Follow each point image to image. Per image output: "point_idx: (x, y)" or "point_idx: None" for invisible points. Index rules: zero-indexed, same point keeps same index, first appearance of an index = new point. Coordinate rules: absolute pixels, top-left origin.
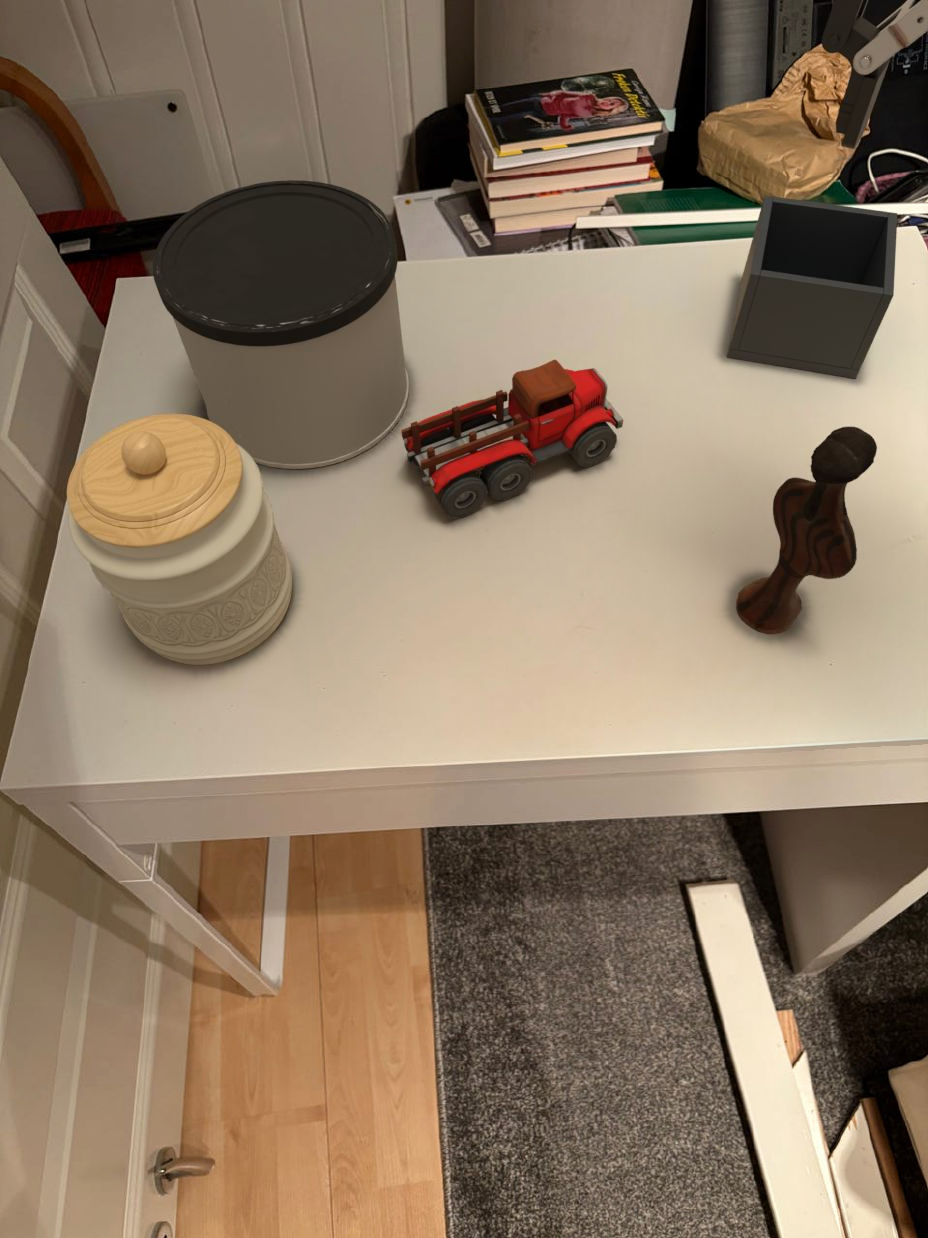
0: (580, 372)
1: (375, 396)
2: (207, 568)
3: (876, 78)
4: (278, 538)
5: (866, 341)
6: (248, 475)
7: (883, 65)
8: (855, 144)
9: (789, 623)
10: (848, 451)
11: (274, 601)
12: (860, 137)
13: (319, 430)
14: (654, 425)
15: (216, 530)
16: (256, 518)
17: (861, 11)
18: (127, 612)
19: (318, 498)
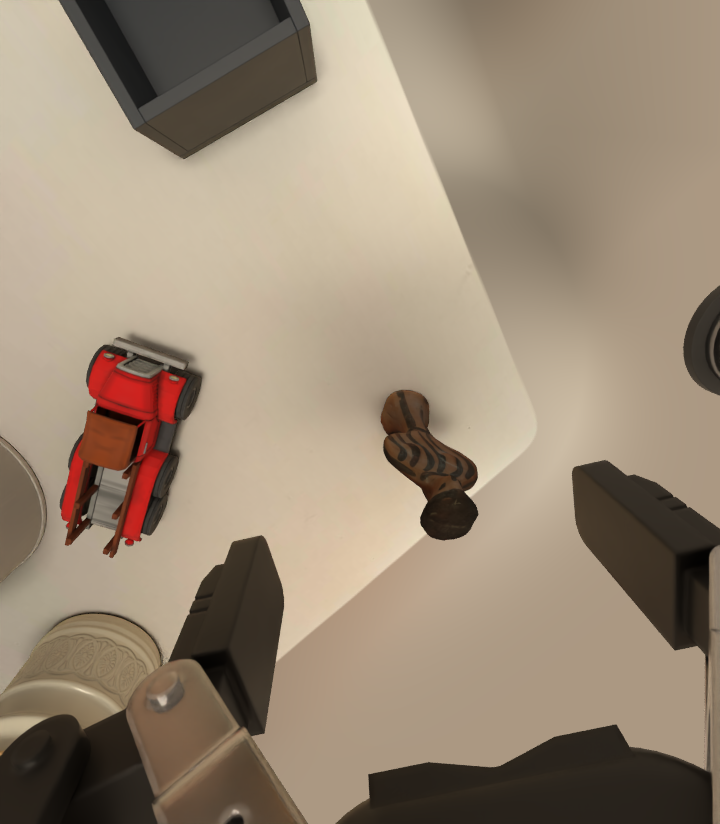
0: (114, 382)
1: (5, 520)
2: None
3: (257, 727)
4: (103, 663)
5: (308, 63)
6: None
7: (233, 677)
8: (282, 599)
9: (428, 422)
10: (454, 527)
11: (144, 664)
12: (270, 558)
13: (11, 566)
14: (202, 310)
15: None
16: None
17: (63, 816)
18: None
19: (69, 564)
